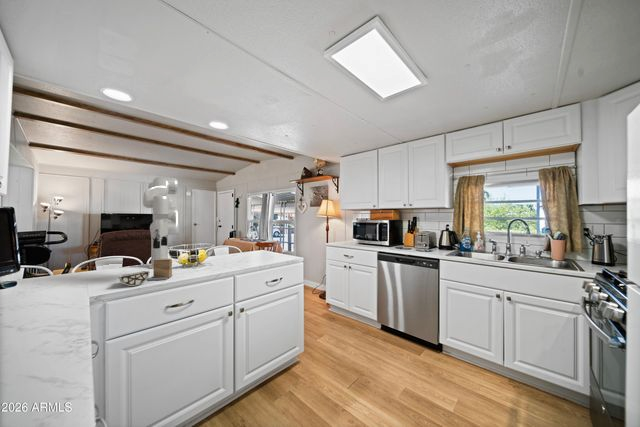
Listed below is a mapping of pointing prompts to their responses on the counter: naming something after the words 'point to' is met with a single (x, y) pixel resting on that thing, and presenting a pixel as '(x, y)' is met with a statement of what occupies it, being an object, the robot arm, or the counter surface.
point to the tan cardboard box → (162, 268)
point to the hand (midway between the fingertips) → (160, 246)
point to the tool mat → (157, 279)
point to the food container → (134, 278)
